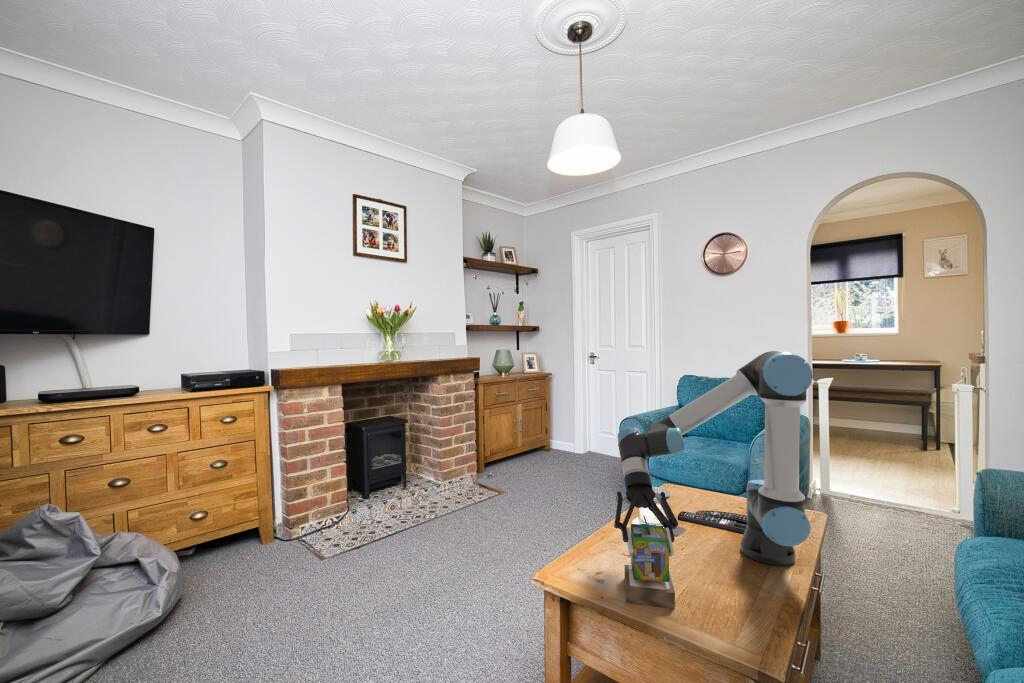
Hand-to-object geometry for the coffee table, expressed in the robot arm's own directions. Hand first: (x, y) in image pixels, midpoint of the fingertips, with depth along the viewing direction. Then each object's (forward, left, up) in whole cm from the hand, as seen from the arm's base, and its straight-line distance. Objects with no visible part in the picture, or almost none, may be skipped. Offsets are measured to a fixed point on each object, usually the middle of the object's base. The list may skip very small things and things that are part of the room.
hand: (651, 554), depth 118 cm
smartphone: (-8, -48, -12) cm, 50 cm away
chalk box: (0, -3, -7) cm, 7 cm away
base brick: (+1, -3, -12) cm, 12 cm away
